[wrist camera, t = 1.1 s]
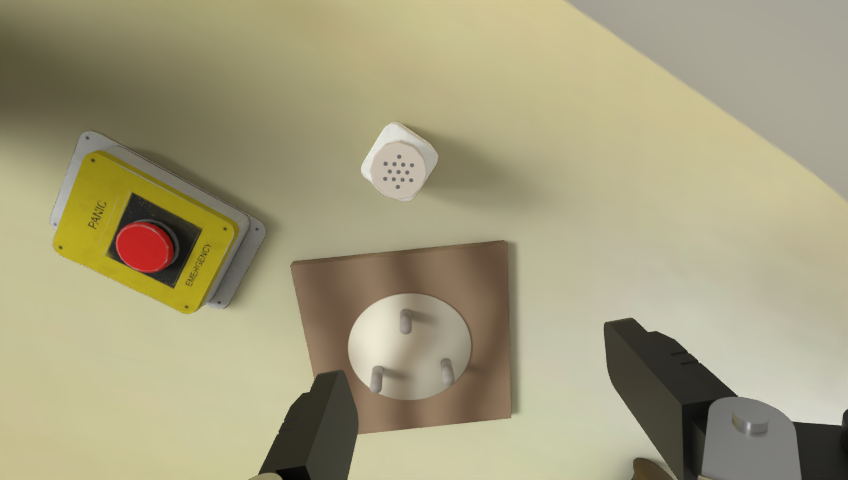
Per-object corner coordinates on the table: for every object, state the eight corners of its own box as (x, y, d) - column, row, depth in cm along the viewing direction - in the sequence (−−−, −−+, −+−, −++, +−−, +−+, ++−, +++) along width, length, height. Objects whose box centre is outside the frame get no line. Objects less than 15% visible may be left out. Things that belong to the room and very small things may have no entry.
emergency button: (202, 336, 31) (0, 242, 28) (226, 309, 35) (52, 225, 32) (253, 240, 29) (38, 127, 25) (272, 224, 33) (89, 124, 30)
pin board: (328, 429, 39) (321, 461, 35) (293, 261, 33) (280, 278, 30) (508, 410, 39) (518, 440, 36) (504, 240, 33) (515, 255, 30)
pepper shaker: (365, 161, 31) (349, 182, 22) (392, 117, 30) (387, 120, 21) (408, 189, 32) (409, 220, 23) (435, 147, 31) (448, 161, 22)
